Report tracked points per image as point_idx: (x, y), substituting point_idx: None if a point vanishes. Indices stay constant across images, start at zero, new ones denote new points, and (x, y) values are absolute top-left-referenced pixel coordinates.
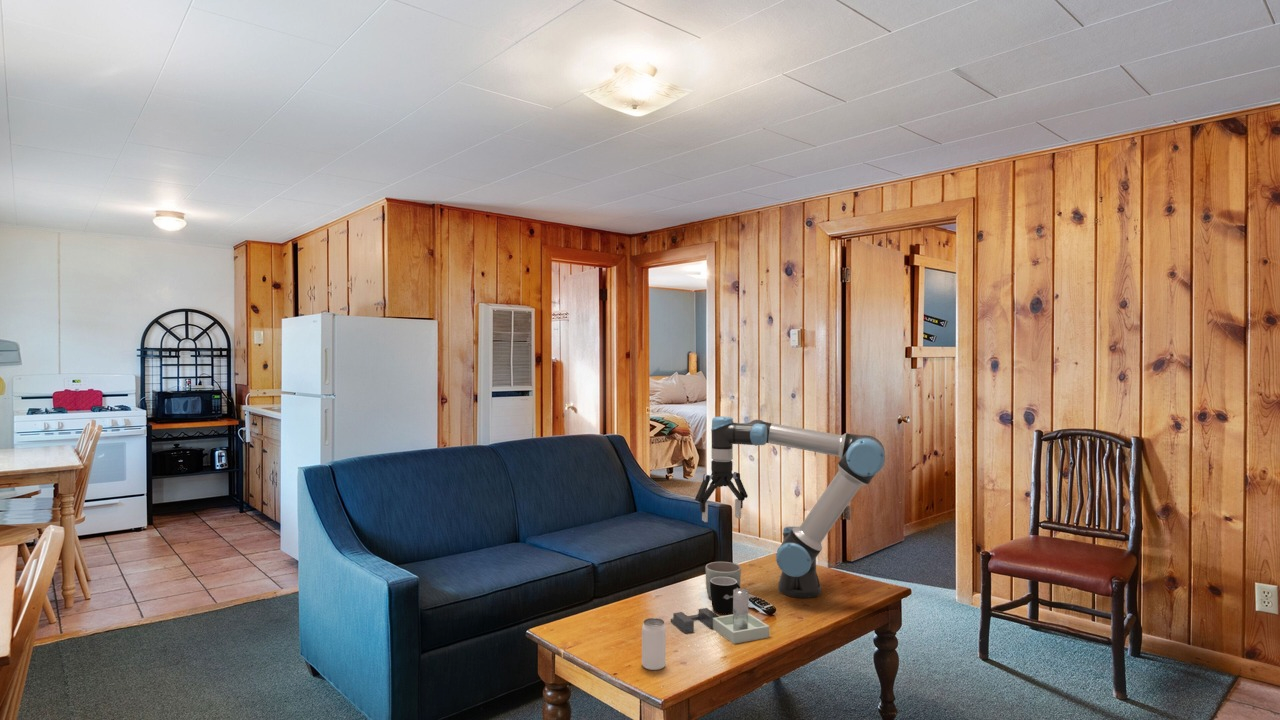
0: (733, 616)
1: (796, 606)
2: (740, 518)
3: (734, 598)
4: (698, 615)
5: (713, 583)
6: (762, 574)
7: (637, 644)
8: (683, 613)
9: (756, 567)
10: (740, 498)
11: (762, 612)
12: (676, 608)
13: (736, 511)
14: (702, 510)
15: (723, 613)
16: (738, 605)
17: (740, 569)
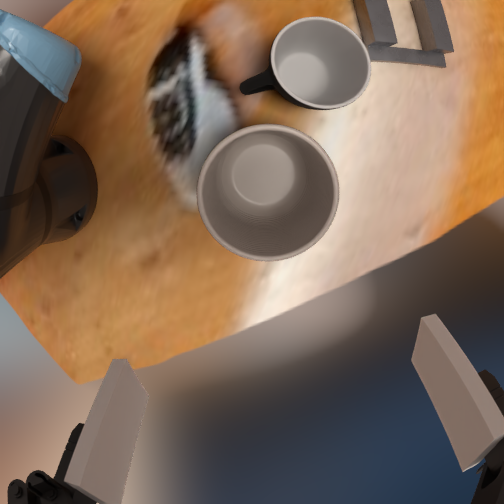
0: None
1: (95, 80)
2: (114, 359)
3: None
4: (390, 45)
5: (367, 52)
6: (110, 311)
7: (497, 21)
8: (435, 38)
9: (116, 349)
10: (63, 498)
11: (198, 45)
12: (409, 136)
13: (129, 420)
14: (492, 381)
15: (313, 53)
16: None
17: (208, 155)
